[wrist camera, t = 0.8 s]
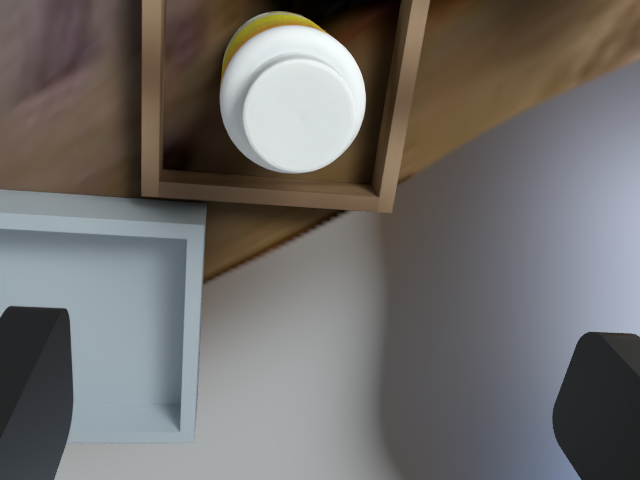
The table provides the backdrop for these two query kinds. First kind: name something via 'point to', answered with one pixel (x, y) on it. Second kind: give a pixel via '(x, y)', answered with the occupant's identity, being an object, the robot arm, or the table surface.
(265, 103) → the supplement bottle
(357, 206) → the corral
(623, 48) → the table surface
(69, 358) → the robot arm
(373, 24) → the table surface
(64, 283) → the bin
